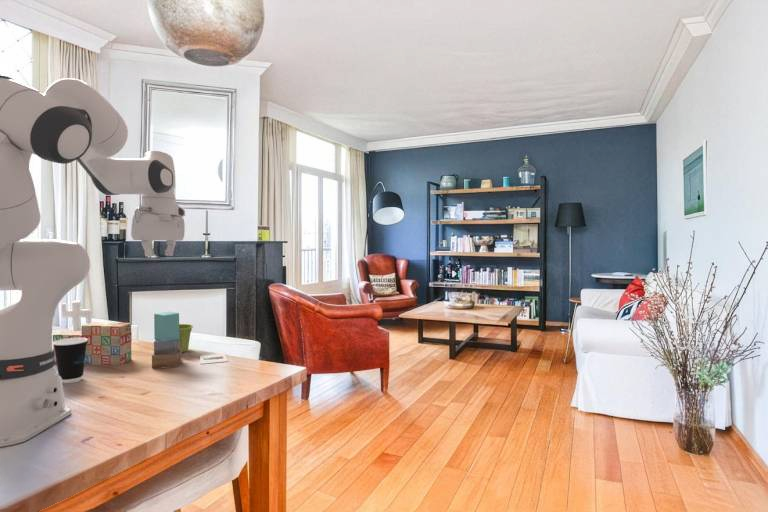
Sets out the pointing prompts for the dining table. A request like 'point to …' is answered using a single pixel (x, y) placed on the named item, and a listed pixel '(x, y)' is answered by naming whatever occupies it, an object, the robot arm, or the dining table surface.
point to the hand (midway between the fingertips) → (159, 256)
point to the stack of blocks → (103, 342)
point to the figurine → (76, 314)
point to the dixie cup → (70, 358)
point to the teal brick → (166, 326)
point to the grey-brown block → (166, 354)
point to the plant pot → (184, 336)
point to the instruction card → (213, 358)
